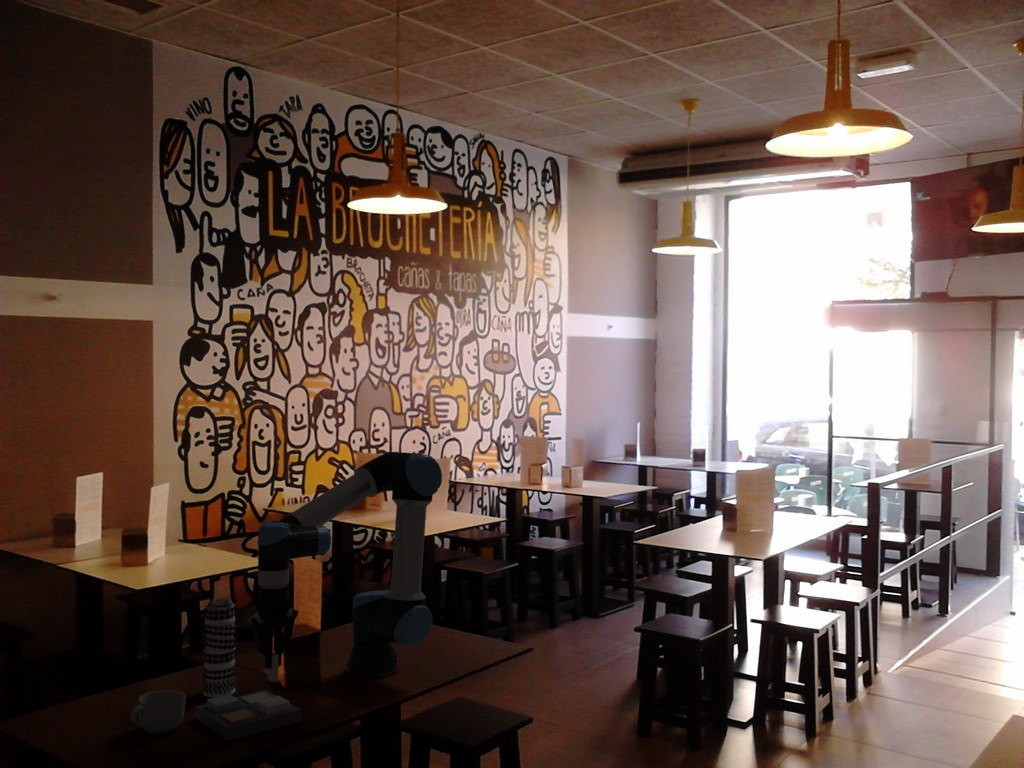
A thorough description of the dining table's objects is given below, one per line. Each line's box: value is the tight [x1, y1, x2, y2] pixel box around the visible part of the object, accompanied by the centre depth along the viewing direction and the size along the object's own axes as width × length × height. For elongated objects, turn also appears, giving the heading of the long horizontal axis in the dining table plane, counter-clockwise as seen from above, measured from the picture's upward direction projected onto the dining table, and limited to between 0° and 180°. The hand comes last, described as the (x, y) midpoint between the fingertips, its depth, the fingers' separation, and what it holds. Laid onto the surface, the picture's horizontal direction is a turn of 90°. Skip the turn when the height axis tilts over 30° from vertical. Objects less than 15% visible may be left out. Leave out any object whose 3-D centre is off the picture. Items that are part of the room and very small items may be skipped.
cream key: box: [256, 695, 291, 716], centre depth 220 cm, size 6×6×3 cm
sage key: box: [241, 692, 271, 706], centre depth 227 cm, size 6×6×3 cm
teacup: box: [130, 689, 187, 735], centre depth 213 cm, size 14×11×8 cm
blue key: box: [206, 694, 240, 714], centre depth 221 cm, size 6×6×3 cm
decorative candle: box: [201, 598, 238, 699], centre depth 241 cm, size 9×9×25 cm
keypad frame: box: [195, 689, 302, 742], centre depth 221 cm, size 19×19×3 cm
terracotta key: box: [222, 710, 256, 725], centre depth 215 cm, size 6×6×3 cm
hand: (273, 680), depth 221 cm, fingers closed
